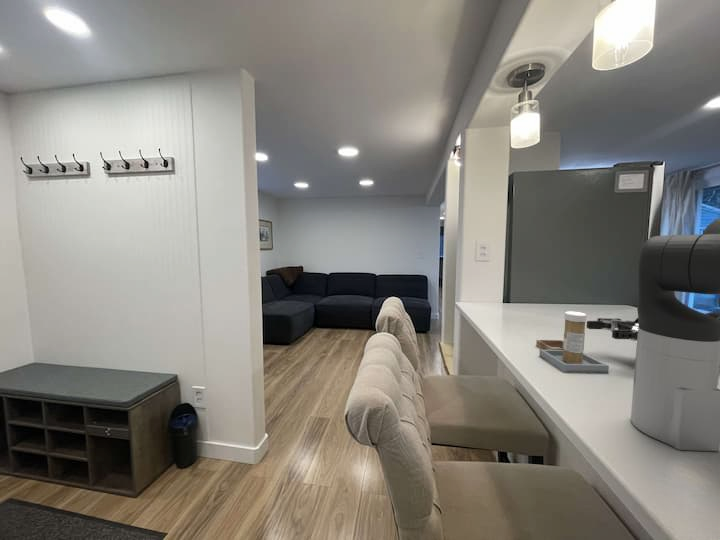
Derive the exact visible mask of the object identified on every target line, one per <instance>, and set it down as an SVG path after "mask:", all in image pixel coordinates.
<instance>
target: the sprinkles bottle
mask: <svg viewBox="0 0 720 540" xmlns="http://www.w3.org/2000/svg"><path fill="white" fill-rule="evenodd" d="M586 323H587V314H586V313H584V312H580V311H571V310H570V311H565V312H564V333H563V341H564V342H563V358H562V360H563V361H564V362H566V363H569V364H583V353H585V351H584V350H585V335H586Z"/></svg>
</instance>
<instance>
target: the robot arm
mask: <svg viewBox="0 0 720 540" xmlns="http://www.w3.org/2000/svg"><path fill="white" fill-rule="evenodd" d="M675 292H680V293H690V294H699V295H700V294H701V295H719V296H718V300H717V305H718V307H719V308H720V216H719V217H718V218H716V219H714V220H713V221H711V222H710V223H709V224H708V225H707V226H706V227H705V228H704V230H703V231H702V234H701V233H699V234H671V235H670V234H669V235H655V236H651V237H649V238H647V240H646V241H645V242H643V244H642V246H641V248H640V251H639V254H638V262H637V306H636V307H637V308H636V310H637V318H635V320H630V319H629V320H628V319H627V320H622V319H620V318H611V317H610V318H606V317H605V318H603V317H602V318H601V317H598V318H597V320H588V321H587V320H586V329H588V330H602V331H603V330H605V331H610V332H611V338H612V339H614V340H630V341H634V342H635V341H636V349H635V361H634V373H633V385H632V395H631V396H632V398H631V413H630V423H631V424H632V425H633V426H634V427H635V428H636V429H637V430H639V431H641V432H642V433H644V434H645V435H647V436H648V437H651V438H653V439H656V440H658V441H660V442H662V443H665V444H667V445H669V446H672V447H673V448H675V449H676V450H678V451H703V452H704V451H705V452H707V451H709V452H720V389H719V388H718V387H719V386H718V384H719V378H720V377H719V375H720V311H710V312H706V313H703V312H701V311H698V310H696V309H694V308H691V307H690V306H688V305H687V304H685V303H683V301H681V300H679V299H678V298H677V297H676V295H675Z"/></svg>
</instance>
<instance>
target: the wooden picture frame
mask: <svg viewBox="0 0 720 540" xmlns="http://www.w3.org/2000/svg"><path fill="white" fill-rule="evenodd" d="M563 342H564V340H562V339H559V340H558V339H536V344H535V346H536V347H537V348H539V350H563Z"/></svg>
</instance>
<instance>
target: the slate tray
mask: <svg viewBox="0 0 720 540" xmlns="http://www.w3.org/2000/svg"><path fill="white" fill-rule="evenodd" d="M539 357H540V358H542V359H543V360H544V361H546V362H547V363H549V364H550V365H552V366H553V367H555V368H557V369H558V370H559V371H561V372H562V373H566V374H571V373H572V374H609V369H610V367H609V365H608V364H607V363H604V362H602V361H600V360H599V359H597V358H594V357H592V356H591V355H588V354H586V353H585V352H583V364H569V363H566V362H564V361H563V360H562V358H563V350H542V349H539Z"/></svg>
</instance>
